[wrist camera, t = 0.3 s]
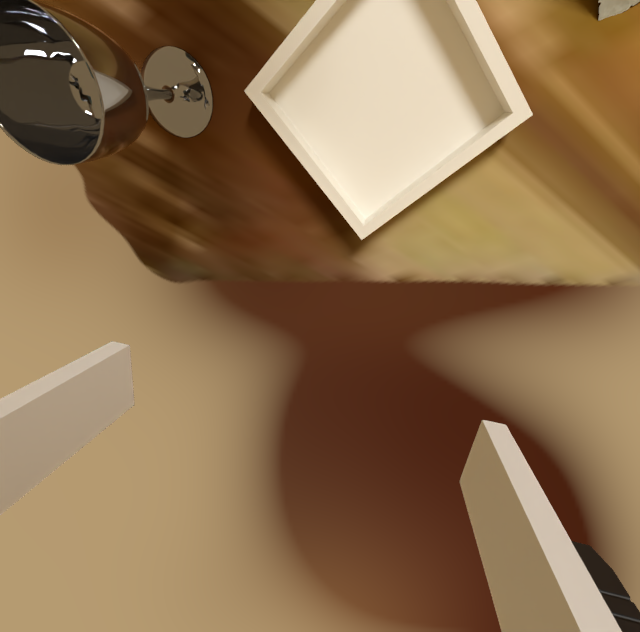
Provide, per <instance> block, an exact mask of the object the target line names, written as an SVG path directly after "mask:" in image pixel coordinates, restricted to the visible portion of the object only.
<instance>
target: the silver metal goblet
mask: <svg viewBox="0 0 640 632" xmlns="http://www.w3.org/2000/svg"><path fill="white" fill-rule="evenodd" d="M212 110H213V96H212V90H211V86H210V83H209V80H208V78H207V76H206V73H205V72H204V70H203V69H202V67H201V65H200V64H199V63H198V62H197V61H196V59H195V58H193V57H192V56H191V55H190V54H189V53H187V52H186V51H184V50H182V49H180V48H177V47H173V46H162V47H159V48H157V49H155V50H154V51H152V52H151V53H150V54H149V55H148V57H147V58H146V60H145V62H144V64H143V67H142V71H141V74H140V72H139V70H138V68H137V66H136V64H135V63H134V62H133V60H132V59H131V57H130V56H129V55H128V53H127V52H126V51H125V50H124V49H123V48H122V47H121V46H120V45H119V44H118V43H117V42H115V41H114V40H113V39H112V38H111V37H110V36H109V35H107V34H106V33H104V32H103V31H101V30H100V29H98V28H97V27H95V26H93V25H92V24H90V23H89V22H87V21H85V20H83V19H81V18H79V17H77V16H76V15H74V14H72V13H70V12H67V11H65V10H62V9H60V8H58V7H55V6H52V5H49V4H47V3H44V2H41V1H38V0H0V128H1V129H2V130H3V131H4V132H5V133H6V135H7V136H9V137H10V138H11V139H12V140H13V141H14V142H15V143H16V144H17V145H19V146H20V147H21V148H23V149H24V150H25V151H27V152H28V153H30V154H32V155H33V156H35V157H37V158H39V159H41V160H44V161H46V162H49V163H53V164H58V165H74V164H80V163H85V162H90V161H94V160H97V159H101V158H105V157H108V156H110V155H112V154H115V153H117V152H119V151H121V150H123V149H124V148H126V147H127V146H129V145H130V144H132V143H133V142H134V141H135V140H136V139H137V138H138V137H139V136H140V135H141V133H142V132H143V130H144V128H145V126H146V123H147V119H148V114H149V113H150V114H151V116H152V117H153V119H154V120H155V121H156V122H157V123H158V124H159V126H160V127H162V128H163V129H164V130H165V131H167V132H169V133H170V134H172V135H175V136H177V137H182V138H190V137H194V136H196V135H198V134H200V133H201V132H202V131H203V130H204V129H205V128H206V127H207V125H208V123H209V121H210V119H211V115H212Z"/></svg>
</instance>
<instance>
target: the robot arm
mask: <svg viewBox="0 0 640 632" xmlns="http://www.w3.org/2000/svg"><path fill="white" fill-rule="evenodd" d="M133 393H134V392H133V379H132V366H131V354H130V345H127V344H123V343H118V342H113V341H111V342H110V343H108V344H106V345H104V346H102V347H100V348H98V349H96V350H94V351H92V352H90V353H88V354H86V355H84V356H83V357H81V358H79V359H77V360H75V361H73V362H71V363H69V364H67V365H65V366H63V367H61V368H59V369H57V370H55V371H53V372H52V373H50V374H48V375H46V376H44V377H42V378H40V379H38V380H36V381H34V382H32V383H30V384H28V385H26V386H25V387H22V388H21V389H19V390H17V391H15V392H13V393H11V394H9V395H7V396H5V397H3V398H1V399H0V515H1V514H2V513H3V512H5V511H6V510H7V509H8V508H9V507H10V506H12V505H13V504H14V503H16V502H17V501H18V500H19V499H20V498H22V497H23V496H24V495H25V494H26V493H28V492H29V491H30V490H31V489H33V488H34V487H35V486H36V485H38V484H39V483H40V482H41V481H42V480H43V479H44V478H46V477H47V476H48V475H49V474H51V473H52V472H53V471H55V470H56V469H57V468H58V467H59V466H61V465H62V464H63V463H64V462H65V461H67V460H68V459H69V458H70V457H72V456H73V455H74V454H75V453H76V452H77V451H79V450H80V449H81V448H83V447H84V446H85V445H86V444H87V443H89V442H90V441H91V440H92V439H93V438H95V437H96V436H97V435H98V434H100V433H101V432H102V431H103V430H104V429H106V427H108V426H109V425H111V424H112V423H113V422H114V421H115V420H117V419H118V418H119V417H120V416H121V415H123V414H124V413H125V412H126V411H127V410H129V409H130V408H131V407H132V406H134V394H133ZM460 485H461V488H462V492H463V496H464V499H465V503H466V506H467V510H468V513H469V517H470V520H471V524H472V527H473V531H474V535H475V538H476V542H477V545H478V548H479V552H480V556H481V559H482V563H483V567H484V570H485V574H486V577H487V581H488V584H489V588H490V591H491V595H492V598H493V602H494V606H495V609H496V612H497V616H498V620H499V623H500V627H501V630H502V632H640V612H639V610H638V609H637V607H636V606H635V604H634V603H633V602H631V601H630V596H629V594H628V593H627V591H626V590H625V588H624V587H623V585H622V583H621V582H620V580H619V579H618V577H617V575H616V574H615V572H614V571H613V570H612V568H610V566H609V565H608V564H607V563H606V562H605V561H604V560H603V559H602V558H601V557H600V556H599V555H598V554H597V553H596V552H595V550H593V548H592V547H591V546H589V545H585V544H581V543H577V542H573V541H571V540H570V538H569V537H568V535H567V533H566V531H565V529H564V528H563V526H562V524H561V522H560V520H559V519H558V517H557V515H556V513H555V512H554V510H553V508H552V506H551V505H550V503H549V501H548V499H547V497H546V496H545V494H544V492H543V490H542V488H541V487H540V485H539V483H538V481H537V480H536V478H535V476H534V474H533V472H532V471H531V469H530V467H529V465H528V463H527V462H526V460H525V458H524V456H523V454H522V453H521V451H520V449H519V447H518V446H517V444H516V442H515V440H514V439H513V437H512V435H511V433H510V432H509V430H508V428H507V426H506V425H504V424H499V423H495V422H490V421H486V420H482V422H481V424H480V427H479V430H478V433H477V435H476V438H475V441H474V443H473V446H472V449H471V452H470V454H469V457H468V460H467V462H466V465H465V468H464V470H463V473H462V476H461V479H460Z"/></svg>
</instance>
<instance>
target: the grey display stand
mask: <svg viewBox="0 0 640 632" xmlns="http://www.w3.org/2000/svg"><path fill="white" fill-rule="evenodd" d="M600 2H601V4H600V6H599V18H598V20H602V19H604V18H606V17H609V16H613V15H616V14H619V13H623V12H624V11H626V10H628V9H629V8H630V6H631V5H633V6H634V5H635V4H637V3H638V2H640V0H599V1H598V3H600Z"/></svg>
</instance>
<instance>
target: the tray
mask: <svg viewBox="0 0 640 632" xmlns="http://www.w3.org/2000/svg"><path fill="white" fill-rule="evenodd" d="M244 92H245V93H246V94H247V95H248V97H249V98H250V99H251V101H252V102H253V103H254V104H255V106H256V107H257V108H258V109H259V111H260V112H261V113H262V114H263V116H264V117H265V118H266V120H267V121H268V122H269V123H270V125H271V126H272V127H273V128H274V130H275V131H276V132H277V133H278V135H279V136H280V137H281V139H282V140H283V141H284V142H285V144H286V145H287V146H288V147H289V149H290V150H291V151H292V152H293V154H294V155H295V156H296V158H297V159H298V160H299V161H300V163H301V164H302V165H303V166H304V168H305V169H306V170H307V171H308V173H309V174H310V175H311V176H312V178H313V179H314V180H315V182H316V183H317V184H318V185H319V187H320V188H321V189H322V190H323V192H324V193H325V194H326V195H327V197H328V198H329V199H330V201H331V202H332V203H333V204H334V206H335V207H336V208H337V209H338V211H339V212H340V213H341V214H342V216H343V217H344V218H345V220H346V221H347V222H348V223H349V225H350V226H351V227H352V228H353V230H354V231H355V232H356V233H357V235H358V236H359V237H360V239H361V240H363V239H364V238H365V237H367V236H368V235H369V234H371V233H372V232H373V231H375V230H376V229H378V228H379V227H380V226H382V225H383V224H384V223H386V222H387V221H388V220H390V219H391V218H393V217H394V216H395V215H397V214H398V213H399V212H401V211H402V210H403V209H405V208H406V207H408V206H409V205H410V204H412V203H413V202H414V201H416V200H417V199H418V198H420V197H421V196H423V195H424V194H425V193H427V192H428V191H429V190H431V189H432V188H434V187H435V186H436V185H438V184H439V183H440V182H442V181H443V180H444V179H446V178H447V177H449V176H450V175H451V174H453V173H454V172H455V171H457V170H458V169H459V168H461V167H462V166H464V165H465V164H466V163H468V162H469V161H470V160H472V159H473V158H474V157H476V156H477V155H479V154H480V153H481V152H483V151H484V150H485V149H487V148H488V147H489V146H491V145H492V144H494V143H495V142H496V141H498V140H499V139H500V138H502V137H503V136H504V135H506V134H507V133H509V132H510V131H511V130H513V129H514V128H515V127H517V126H518V125H519V124H521V123H522V122H524V121H525V120H526V119H528V118H529V117H530V116H532V115H533V114H532V112H531V110H530V108H529V106H528V104H527V102H526V100H525V98H524V96H523V94H522V92H521V90H520V88H519V86H518V84H517V82H516V80H515V78H514V76H513V74H512V72H511V70H510V68H509V66H508V64H507V62H506V60H505V58H504V56H503V54H502V52H501V50H500V48H499V46H498V44H497V42H496V40H495V38H494V36H493V34H492V32H491V30H490V28H489V26H488V24H487V22H486V20H485V18H484V16H483V14H482V12H481V10H480V8H479V6H478V4H477V2H476V0H316V1H315V2H314V3H313V5H312V6H311V7H310V9H309V10H308V11H307V12H306V14H305V15H304V16H303V17H302V19H301V20H300V21H299V22H298V24H297V25H296V26H295V27H294V29H293V30H292V31H291V32H290V34H289V35H288V36H287V38H286V39H285V40H284V41H283V43H282V44H281V45H280V46H279V48H278V49H277V50H276V51H275V53H274V54H273V55H272V56H271V58H270V59H269V60H268V61H267V63H266V64H265V65H264V67H263V68H262V69H261V70H260V72H259V73H258V74H257V75H256V77H255V78H254V79H253V80H252V82H251V83H250V84H249V85H248V87H247V88H246V89H245V90H244Z"/></svg>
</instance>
